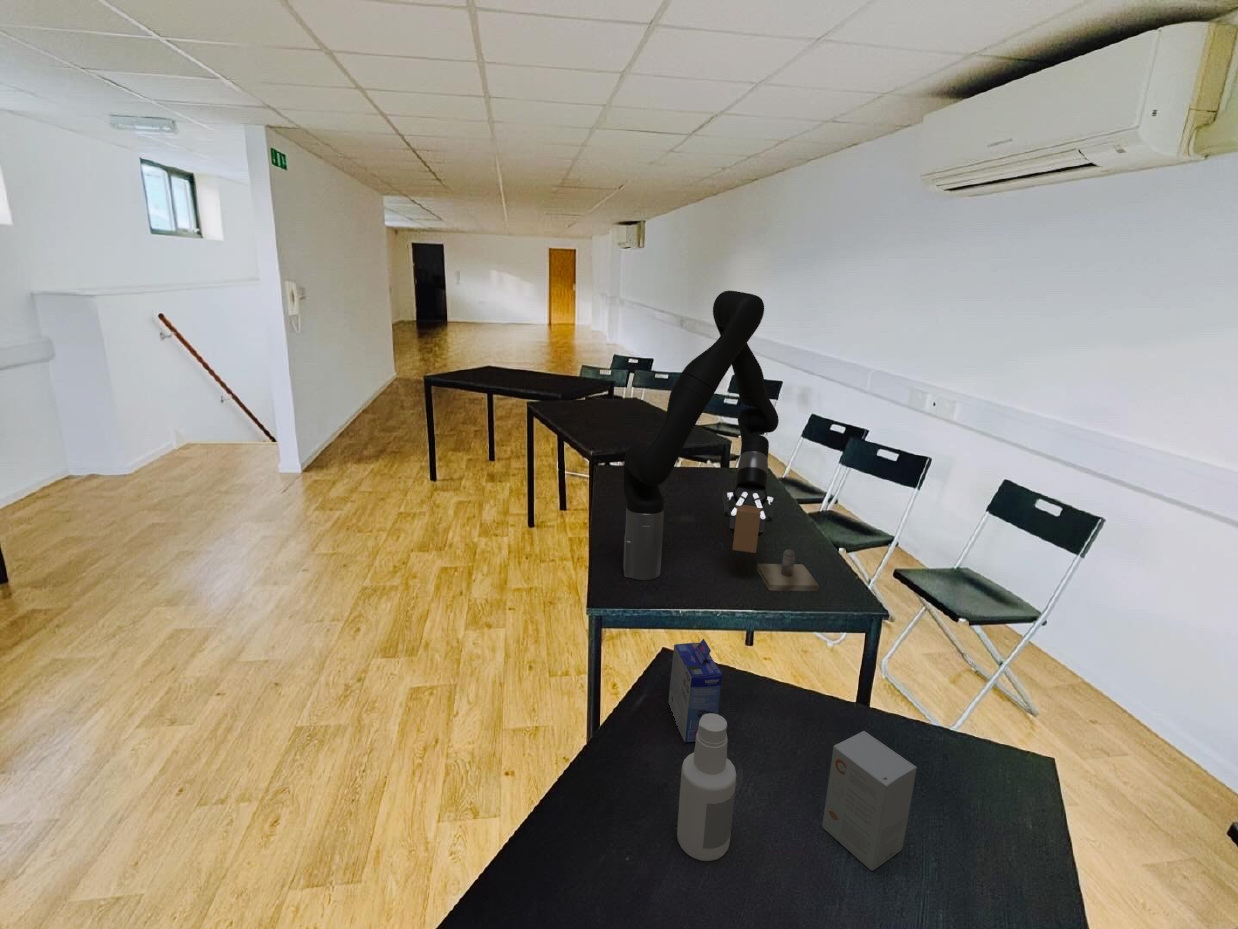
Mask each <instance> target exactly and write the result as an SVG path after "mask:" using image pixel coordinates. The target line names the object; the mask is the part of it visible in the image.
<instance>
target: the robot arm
mask: <svg viewBox="0 0 1238 929" xmlns="http://www.w3.org/2000/svg"><path fill="white" fill-rule="evenodd" d="M764 314H765V304H764V301H763V299H762V298H761V297H760V296H758V295H757V294H753V293H748V292H742V291H736V290H724V291H722V292H721V293H719V294H718V295H717V297H716V298H715V300H714V302H713V307H712V316H713V320H714V324H715V326H716V328H717V331H718V333H719V335H720V336H719V338H717V340H716V341H715V342H714V343H713V344H712V345H710V346H709V347H708V348H707V349H706V350H705V351H703V352H701V353H699V355H698V356H696V357H695V358H693V359H692V360H691V361H690V362H689V363H688V364H687V365H686V366H685V367H684V369H683V370H682V372H681V373H680V374H679V376H678V378H677V379H676V382H674V385H673V387H672V389H671V390H670V394H669V398H668V402H667V408H666V415H665V419H664V421H663V425H662V427H661V429H660V431H659V432H658V434H657V436H656V437H655V439H654V440H653V442H652V443H651V442H648V441H637V442H635V443H633V444H632V445H631V446H629V448H627V451H626V453H625V456H624V461H623V495H624V497H625V502H626V506H625V507H626V508H625V532H624V534H623V535H624V540H623V542H624V543H623V561H622V562H623V565H622V566H623V567H622V568H623V575H624V578H631V579H633V580H637V581H638V580H639V581H648V580H649V581H651V580H654V579H657V578H658V577H659V576H660V575H661V569H662V568H661V567H662V548H663V531H664V530H663V529H664V515H665V514H664V513H665V511H664V510H665V499H664V495H663V493H662V492H661V490H660V488H659V485H661V484H662V483H664V482H665V481H667V479H668V477H669V476H670V474H671V473H673V472H672V471H673V470H674V468H675V466H676V464H677V460H678V459H679V457H680V455H681V452H682V450H683V448H684V446H685V445H686V442H687V440H688V438H689V436H690V435H691V433H692V432H693V430H694V428H695V426H696V425H697V423H698V420H699V419H700V417H701V416H702V414H703V413H704V411H705V409H706V408H707V406H708V405H709V403H710V402H711V400H712V398H713V396H714V395H715V393H716V391H717V389H719V388H718V387H719V386H720V384H721V383H722V380H723V378H725V376H726V374H727V372H728V371H729V369H730V368H732V371H733V374H734V379H735V383H736V384H735V385H736V388H737V393H738V398H739V401H740V402H741V404H742V405H745V406H748V407H744V408H742V409H741V410H740V411H739V413H738V415H737V424H738V429H739V432H740V440H741V446H740V454H739V460H738V463H737V464H738V465H737V472H736V481H735V489H734V490H733V492H728V491H727V490H723V491H722V493H721V494H722V496H721V499H722V500H721V502H722V511H723V516H724V517H728V518H729V531H731V534H734V531H735V522H736V512H737V505H739V506H741V505H750V506H756V507H757V508H761V515H760V523H759V532H758V538H759V537H761V536H762V535H764V533H765V524H766V523H767V522H769V523H772V522H773V519H774V516H775V512H776V509H777V506H778V502H779V497H778V496H774V497H772V496H768V493H767V486H768V485H767V483H768V474H769V472H768V471H769V452H770V451H769V448H770V442H769V440H768V438H767V437H765V436H764V435H761V434H767V433H768V434H769V433H773V432H774V431H776V430H777V428H778V426H779V414H778V412H777V410H776V408H775V407H774V404H773V403H772V401H771V399H770V397H769V395H768V392H767V389H766V388H767V387H766V383H765V377H764V373H763V369H762V367H761V365H760V363H759V361H758V360H757V358H756V356H755V355H754V353H753V351H752V350H751V348H750V346H749V344H748V342H749V340H750V339H751V338H752V337H753V335H754V334H755V333H756V331H757V330H758V328H759V326H760V325H761V322H762V320H763V318H764ZM732 498H733V500H734V501H735V505H734V508H732V510H730V508H729V502H731V500H732ZM766 502H767V503H768V506H769V507H770V508H769V512H768V514H765V511H764V508H763V505H764V504H765V503H766Z"/></svg>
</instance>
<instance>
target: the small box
mask: <svg viewBox="0 0 1238 929" xmlns="http://www.w3.org/2000/svg"><path fill="white" fill-rule="evenodd" d="M830 762H831V763H830V769H829V776H828V784H827V789H826V795H825V797H826V798H825V803H824V810H823V817H822V823H821V827H822V829H823V830H825V831H826V832H827V833H828V834H829V835H830V836H832V838H833V839H835V840H836V841H837V842H838V843H839V844H840V845H841V846H842V847H844V848H845V849H846V850H847V851H848V852H850V854H852V855H853V856H854V857H855V858H856V859H857V860H858V861H859V862H861V864H863V865H864V866H865V867H866V868H867V869H869V871H871V872H873V871H874V870H876V869H877V868H879V867H880V866H882V865H883V864H885V863H886V862H888V861H889V860H890V859H892V858H893V857H894V856H896V855H897V854H898V853H900V852H902V850H903V847H904V842H905V837H906V832H907V826H908V820H909V814H910V809H911V803H912V797H913V791H914V785H915V780H916V774H917V769H918V768H917V766H916V765H914V764H913V763H911V762H910V761H909V760H907V759H905V758H904V757H903V756H901V755H900V754H898V753H897V752H895V751H894V750H893V749H891V748H889V747H888V746H887V745H885V744H883V743H882V742H881V741H880V740H878V739H877V738H875V737H874V736H872V735H871V734H869V733H868V732H866V731H865V730H862V731H861V732H859V733H857V734H855V735H853V736H851V737H849V738H847V739H845V740H843V741H841V742H839V743H836V744H833V748H832V754H831V761H830Z"/></svg>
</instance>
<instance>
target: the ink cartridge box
mask: <svg viewBox="0 0 1238 929" xmlns="http://www.w3.org/2000/svg"><path fill="white" fill-rule="evenodd" d="M672 652H673V655H672V663H671V664H672V665H671V672H670V673H671V674H670V681H669V682H670V683H669V690H668V691H669V692H668V702H667V703H669V705H670V708H671V711H672V712H673V715H672V717H673V716H674V718H675V720H674V722H675V721H676V722H675V724H676V727H677V726H678V727H677V729H678V731H679V733H680V736H681V738H682V740H683V742H684V743H694V742H695V743H696V734H697V732H698V729H699V721H700V719H701V717H702V716H703V715H705V714H709V713H712V714H717V715H719V707H720V697H721V688H722V687H721V686H722V679H723V673H722V671H721V670H720V668H719V667H718V665H717V663H716V662H715V660H714V659H713V658H712V656H711V654H710V653H711V652H712V650H711V648H710V647H709V645H708V643H707V642H706V640H705V639H704V638H702V639H701V641H700V642H687V643H676V644H674V645H673V651H672ZM671 711H670V712H671ZM674 718H673V719H674Z"/></svg>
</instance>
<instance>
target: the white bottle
mask: <svg viewBox="0 0 1238 929" xmlns="http://www.w3.org/2000/svg"><path fill="white" fill-rule="evenodd" d="M727 729H728V723H727V720H726V719H725V718H724V717H723V716H721V715H720V714H718V715H717V714H712V713H709V714H705V715H703V716H702V717H701V719H700V721H699V729H698V732H697V734H696V742H695V746H694V750H693V752H692V753H689V754H688V755H687V756H686V758H684V760H683V761H682V762H683V763H682V765H681V772H680V787H679V802H678V814H677V815H678V816H677V827H676V828H677V829H676V835H677V838H676V839H677V841H678V844H679V845H680V848H681V850H683V851H684V852H685V854H687V856H690V857H691V858H692V859H695V860H699V861H701V862H712V861H716V860H719V859H721V857H723V856H725V854H726V852H727V851H728V849H729V848H730V843H731V833H732V824H733V823H732V822H733V814H734V813H733V812H734V804H735V795H736V794H735V793H736V792H735V791H736V784H737V773H736V767H735V765H734V764H733V762H732V761H731V760H730V759H729V758H728V753H727V750H728V742H729V741H728V740H729V739H728V735H727Z"/></svg>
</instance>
